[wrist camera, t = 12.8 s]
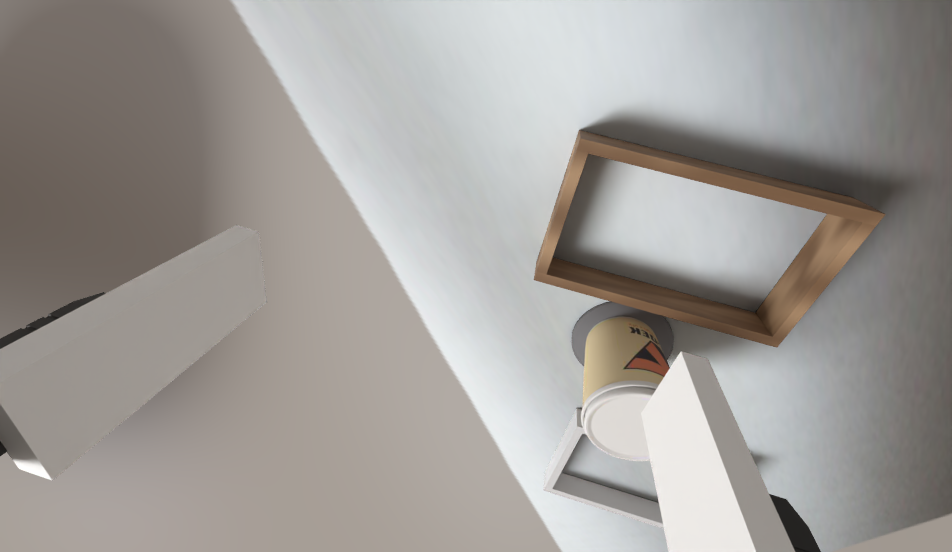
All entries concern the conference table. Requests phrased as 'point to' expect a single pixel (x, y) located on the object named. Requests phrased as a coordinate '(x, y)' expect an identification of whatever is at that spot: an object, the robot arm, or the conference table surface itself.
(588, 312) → the coaster
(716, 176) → the frame
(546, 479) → the gray rectangular frame
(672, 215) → the conference table surface
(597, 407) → the coffee cup
